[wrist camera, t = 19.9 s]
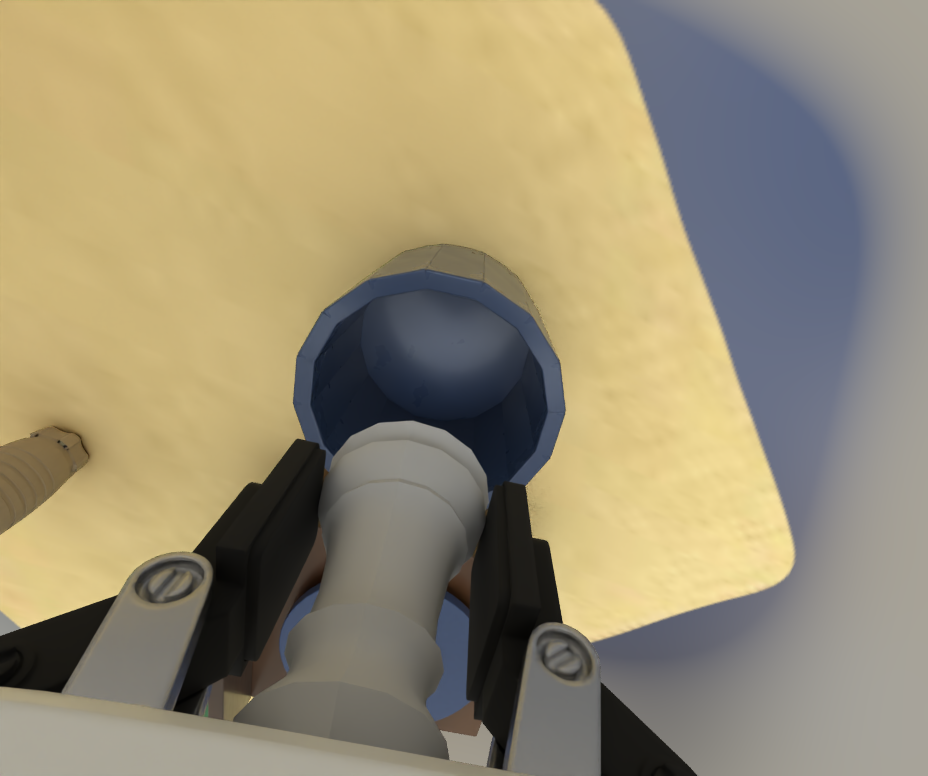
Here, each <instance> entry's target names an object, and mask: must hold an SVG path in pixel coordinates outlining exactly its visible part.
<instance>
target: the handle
mask: <svg viewBox="0 0 928 776" xmlns="http://www.w3.org/2000/svg"><path fill="white" fill-rule="evenodd" d="M30 435H31V436H30V438H23V439H20V440H17V441H14V442H11V443H8V444H6V445H3V446H0V535H1V534H2V533H4V532H5V531H6V530H8V529H9V528H11V527H12V526H14V525H15V524H16V523H18V522H19V521H21V520H22V519H23V518H25V517H26V516H27V515H29V514H30V513H31V512H33V511H34V510H35V509H36V508H38V507H39V506H40V505H41V504H43V503H44V502H45V501H46V500H47V499H48V498H50V497H51V496H52V495H53V494H54V493H55V492H56V491H57V490H58V489H59V488H60V487H61V486H62V485H63V484H64V483H65V482H66V481H67V480H68V479H69V478H70V477H71V476H72V475H73V474H74V473H75V472H77V471H78V470H79V469H80V468H81V467H83V466H84V465H85V464H86V463H87V461H88V454H87V453H86V452H85V451H84V449H83V447H82V445H81V439H80V438H79V437H78V436H77V435H76V434H74V433H66V432H63V431H61V430H59V429H57V428H56V427H47V428H44V429H41V430H38V431H36V432H33V433H31V434H30Z"/></svg>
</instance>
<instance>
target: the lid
mask: <svg viewBox="0 0 928 776" xmlns="http://www.w3.org/2000/svg"><path fill="white" fill-rule="evenodd" d="M320 585H321V583H319V584H317V585H316V586H314V587H312V588H311V589H309V590H308V591H307V592H306V593H304V594H303V595H302V596H301V597H300V598H299V599H298V600H297V601H296V602H295V603H294V604H293V606H292V607H291V609H290V611H289V612H288V614H287V616H286V618H285V621H284V623H283V626H282V628H281V632H280V638H279V651H280V656H281V660H282V663H283V666H284V668H285V670H286V672H287V673H288V671H289V667H288V664H287V661H286V658H285V655H284V652H285V648H286V643H287V639H288V634H289V632H290V631H291V630H292V629H293V628H294V627H295V626H296V625H297V624H298V623H299V621H300V620H301V619H302V618H303V617H304V616H305V615H307V614H309V613H310V612H311V609H312V607H313V604H314V602H315V600H316V597H317V595H318V592H319V589H320ZM468 634H469V609H468V608H467V607H466V606H465V605H464V604H463V603H462V602H461V601H460V600H458V599H457V598H456V597H455V596H453V595H452V594H450V593H449V592H447V591H446V594H445V597H444V601H443V604H442V608H441V612H440V615H439V619H438V625H437V634H436V642H435V643H436V644H437V645H438V647H439V648H440V649H441V656H442V662H443V668H444V673H443V675H442V677H441V680H440V682H439V684H438V687H437V689H436V691H435V692H434V693H433V694H432V695H431V696H430V697H428V698H427V700H426V708H427V709H428V711H429V713H430V714H431V716H432V718H433V719H434V721H438V720H441V719H443V718H445V717H448V716H450V715H452V714H454V713H455V712H457V711H459V710H460V709H462V708H463V707H464V706H466V705H467V704H468V703H469V702H470V701H468V700H467V699H466V682H467V658H468Z"/></svg>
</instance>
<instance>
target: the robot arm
mask: <svg viewBox="0 0 928 776" xmlns="http://www.w3.org/2000/svg"><path fill="white" fill-rule="evenodd" d="M325 459H326V451H325V450H322V449H320V445H319V443H316V442H311V441H306V440H301V439H296V440H295V441H294V443H293V444H292V445H291V447H290V448H289V449H288V451H287V452H286V453H285V455H284V456H283V457H282V459H281V460H280V461H279V463H278V464H277V465H276V467H275V468H274V469H273V471H272V472H271V473H270V474H269V476H268V477H267V478H266V480H265V481H264V482H263V484H258V483H253V482H251V483H249V484H248V485H247V486H246V487H245V488H244V489H243V490H242V491H241V493H240V494H239V495H238V496H237V498H236V499H235V500H234V501H233V503H232V504H231V505H230V506H229V508H228V509H227V510H226V511H225V512H224V514H223V515H222V516H221V517H220V519H219V520H218V521H217V522H216V524H215V525H214V526H213V527H212V529H211V530H210V531H209V532H208V534H207V535H206V536H205V537H204V539H203V540H202V541H201V542H200V543H199V545H198V546H197V547H196V548H195V550H194V551H193V552H192V553H190V552H172V553H167V554H164V555H160V556H157V557H155V558H153V559H150V560H148V561H146V562H145V563H143V564H142V565H141V566H139V567H138V568H136V569H135V570H134V571H133V573H132V574H131V575H130V576H129V578H128V579H127V581H126V582H125V584H124V586H123V587H122V589H121V591H120V593H119V594H118V595H116V596H113V597H111V598H108V599H105V600H102V601H99V602H96V603H93V604H91V605H88V606H85V607H82V608H79V609H76V610H73V611H71V612H68V613H65V614H62V615H59V616H56V617H53V618H50V619H48V620H45V621H42V622H39V623H36V624H33V625H30V626H28V627H25V628H22V629H19V630H16V631H13V632H10V633H8V634H5V635H2V636H0V776H697V775H696V774H695V773H694V771H693V770H692V769H691V768H690V767H689V766H688V765H687V764H686V763H685V762H684V761H683V760H682V759H681V758H680V757H679V756H678V755H677V754H676V753H675V752H673V751H672V750H671V749H670V748H669V747H668V746H667V745H666V744H665V743H664V742H663V741H662V740H661V739H660V738H659V737H658V736H657V735H656V734H655V733H653V732H652V730H651V729H649V728H648V727H647V726H646V725H645V724H644V723H643V722H642V721H641V720H640V719H639V718H638V717H637V716H636V715H635V714H634V713H633V712H632V711H631V710H630V709H629V708H628V707H626V706H625V705H624V704H623V703H622V702H621V701H620V700H619V699H618V698H617V697H616V696H615V695H614V694H613V693H612V692H611V691H610V690H609V689H608V688H606V686H604V684H602V683H601V667H600V661H599V657H598V655H597V652H596V651H595V648H594V647H593V645H592V644H591V643H590V641H589V640H588V639H587V638H586V637H585V636H584V635H583V634H581V633H580V632H579V631H578V630H576V629H574V628H572V627H570V626H568V625H565V624H563V621H562V616H561V610H560V604H559V598H558V593H557V587H556V581H555V575H554V570H553V564H552V558H551V553H550V547H549V543H548V542H547V541H546V540H541V539H536V538H532V533H531V525H530V517H529V510H528V502H527V494H526V487H525V485H523V484H518V483H513V482H508V481H504V482H503V484H502V486H500V485H495V487H494V489H493V493H492V497H491V500H490V504H489V507H488V511H487V514H486V522H485V527H484V529H483V532H482V534H481V537H480V539H479V543H478V546H477V550H476V554H475V557H474V561H473V565H472V571H471V586H470V610H469V634H468V658H467V682H466V699H467V700H468V701H474V719H475V720H481V721H482V722H483V724H484V725H485V726H486V728H487V729H488V730H489V731H490V733H491V734H492V735H493V738H492V742H491V747H490V752H489V757H488V761H487V767H483V766H478V765H472V764H467V763H462V762H456V761H450V760H445V759H440V758H435V757H429V756H424V755H418V754H413V753H407V752H402V751H396V750H391V749H385V748H379V747H374V746H368V745H363V744H357V743H351V742H346V741H340V740H334V739H329V738H323V737H318V736H312V735H306V734H301V733H295V732H289V731H284V730H278V729H272V728H267V727H261V726H255V725H249V724H244V723H238V722H232V721H226V720H220V719H214V718H209V717H204V714H205V711H206V707H207V704H208V701H209V697H210V694H211V691H212V685H213V683H215V682H217V681H219V680H221V679H223V678H225V677H227V676H228V675H233V676H238V677H241V676H242V674H243V672H244V670H245V668H246V666H247V664H248V662H249V661H255V662H256V661H257V660H258V659H259V657H260V655H261V653H262V651H263V649H264V647H265V645H266V643H267V641H268V639H269V637H270V635H271V633H272V631H273V629H274V627H275V624H276V622H277V620H278V618H279V616H280V614H281V612H282V610H283V608H284V606H285V604H286V602H287V600H288V598H289V595H290V593H291V591H292V589H293V587H294V585H295V583H296V581H297V579H298V577H299V575H300V573H301V571H302V568H303V566H304V564H305V562H306V560H307V558H308V556H309V554H310V552H311V550H312V548H313V546H314V543H315V540H316V537H317V532H318V523H319V517H318V506H319V500H320V496H321V491H322V486H323V477H324V468H325Z"/></svg>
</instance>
